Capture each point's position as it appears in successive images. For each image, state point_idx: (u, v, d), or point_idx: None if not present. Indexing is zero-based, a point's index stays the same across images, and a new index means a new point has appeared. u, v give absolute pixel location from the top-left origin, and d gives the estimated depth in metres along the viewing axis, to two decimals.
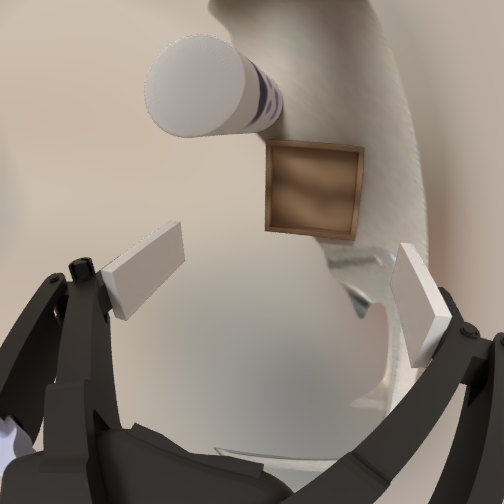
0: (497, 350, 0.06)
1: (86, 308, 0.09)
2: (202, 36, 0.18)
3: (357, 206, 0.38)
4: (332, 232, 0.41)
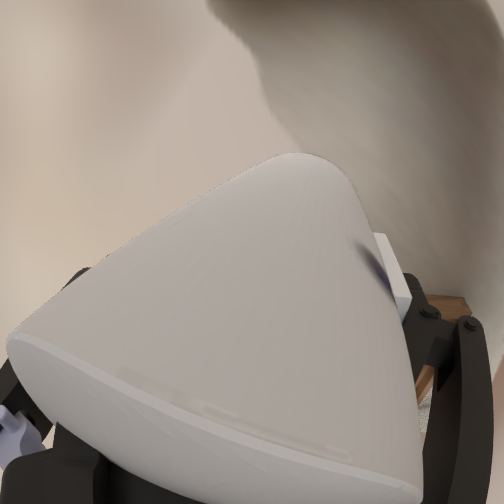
0: (461, 333, 0.07)
1: None
2: (192, 432, 0.02)
3: None
4: None
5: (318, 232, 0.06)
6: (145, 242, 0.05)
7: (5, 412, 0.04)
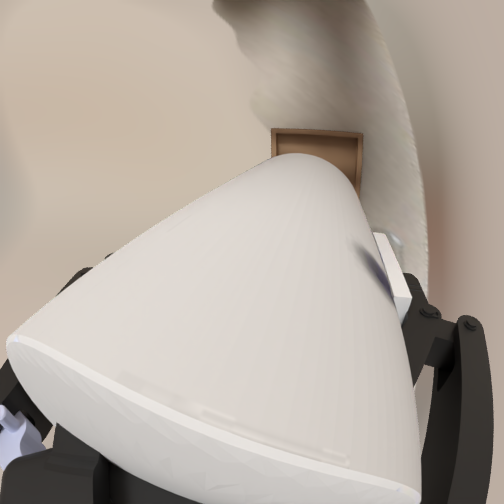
0: (461, 333, 0.07)
1: None
2: (190, 436, 0.02)
3: (358, 188, 0.39)
4: None
5: (317, 234, 0.06)
6: (144, 245, 0.05)
7: (5, 412, 0.04)
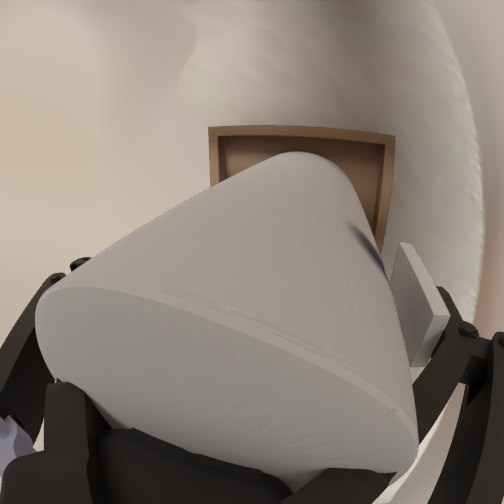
0: (496, 349, 0.06)
1: None
2: (220, 333, 0.03)
3: (379, 246, 0.20)
4: None
5: (316, 212, 0.07)
6: (170, 216, 0.06)
7: None
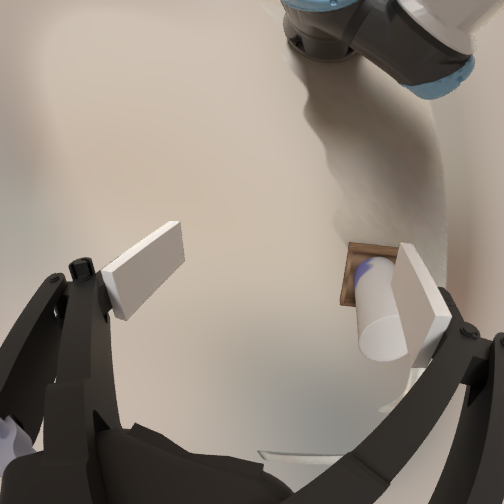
0: (497, 350, 0.06)
1: (86, 308, 0.09)
2: None
3: None
4: None
5: None
6: (388, 304, 0.38)
7: None
